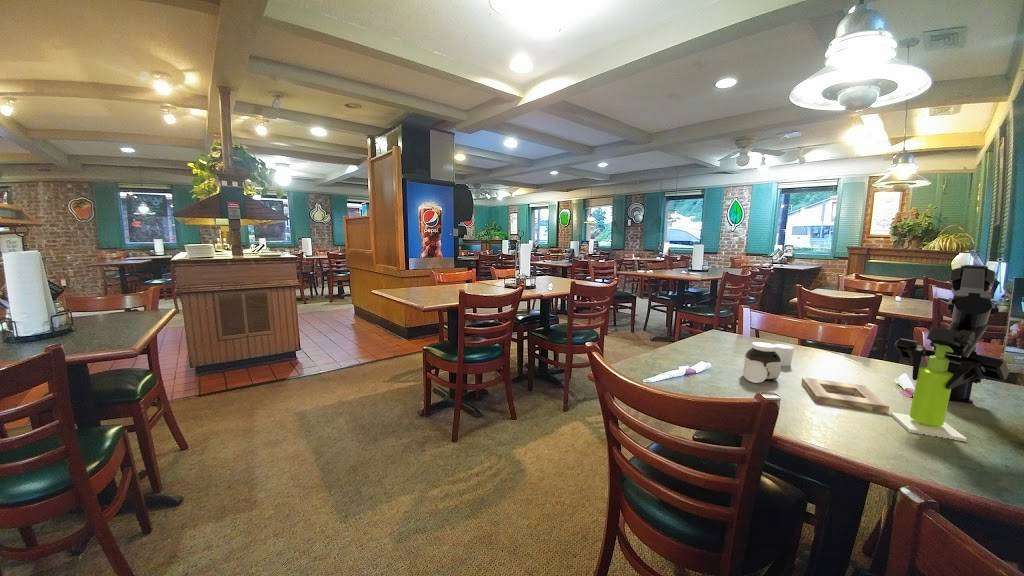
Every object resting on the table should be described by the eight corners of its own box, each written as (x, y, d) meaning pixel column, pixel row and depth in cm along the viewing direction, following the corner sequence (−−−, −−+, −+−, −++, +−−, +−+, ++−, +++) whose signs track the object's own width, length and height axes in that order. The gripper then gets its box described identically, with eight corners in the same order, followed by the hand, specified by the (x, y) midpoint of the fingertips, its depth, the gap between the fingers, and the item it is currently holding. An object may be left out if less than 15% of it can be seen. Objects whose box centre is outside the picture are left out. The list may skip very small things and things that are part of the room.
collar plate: (864, 391, 118) (865, 385, 117) (888, 413, 103) (889, 406, 103) (801, 383, 124) (802, 377, 124) (815, 402, 110) (816, 395, 110)
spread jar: (773, 375, 131) (776, 342, 130) (787, 387, 121) (791, 352, 119) (734, 371, 135) (737, 340, 133) (744, 383, 124) (748, 349, 122)
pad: (941, 422, 98) (941, 419, 98) (966, 441, 89) (966, 438, 89) (890, 414, 102) (890, 412, 102) (909, 432, 93) (909, 429, 93)
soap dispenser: (914, 423, 94) (930, 346, 91) (906, 412, 100) (921, 339, 97) (949, 430, 91) (966, 351, 88) (938, 418, 97) (954, 343, 93)
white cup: (797, 367, 140) (799, 348, 139) (778, 366, 140) (780, 348, 139) (784, 360, 146) (786, 343, 145) (766, 360, 147) (768, 343, 146)
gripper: (903, 309, 102) (872, 353, 100) (1012, 324, 84) (977, 378, 82) (916, 334, 106) (886, 377, 103) (1022, 354, 88) (989, 406, 86)
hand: (929, 383), depth 94 cm, fingers closed on soap dispenser, 6 cm apart
